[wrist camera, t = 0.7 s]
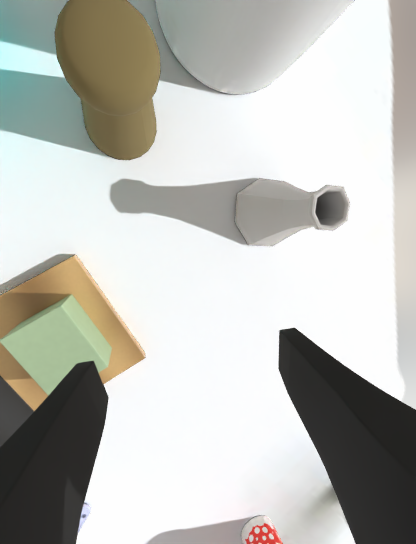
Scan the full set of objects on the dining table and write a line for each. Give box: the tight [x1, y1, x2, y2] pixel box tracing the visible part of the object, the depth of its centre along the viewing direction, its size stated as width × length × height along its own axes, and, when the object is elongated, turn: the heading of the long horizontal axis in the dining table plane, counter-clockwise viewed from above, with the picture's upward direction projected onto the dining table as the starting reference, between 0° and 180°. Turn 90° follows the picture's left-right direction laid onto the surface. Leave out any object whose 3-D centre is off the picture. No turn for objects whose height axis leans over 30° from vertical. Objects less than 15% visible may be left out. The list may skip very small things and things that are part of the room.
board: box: [0, 255, 145, 447], centre depth 23 cm, size 20×12×1 cm, turn 118°
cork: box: [55, 0, 161, 160], centre depth 17 cm, size 6×6×11 cm
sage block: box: [0, 294, 112, 395], centre depth 22 cm, size 5×6×4 cm
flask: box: [235, 178, 350, 246], centre depth 23 cm, size 7×7×10 cm
